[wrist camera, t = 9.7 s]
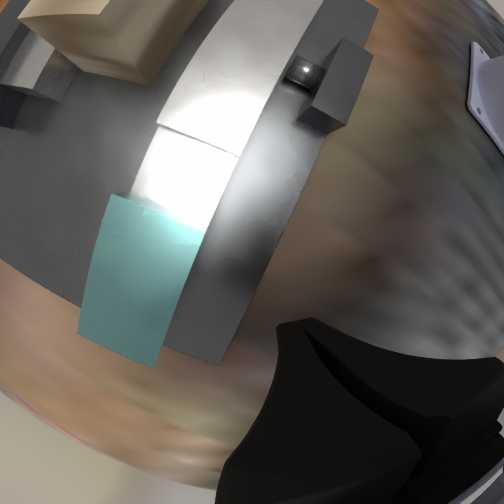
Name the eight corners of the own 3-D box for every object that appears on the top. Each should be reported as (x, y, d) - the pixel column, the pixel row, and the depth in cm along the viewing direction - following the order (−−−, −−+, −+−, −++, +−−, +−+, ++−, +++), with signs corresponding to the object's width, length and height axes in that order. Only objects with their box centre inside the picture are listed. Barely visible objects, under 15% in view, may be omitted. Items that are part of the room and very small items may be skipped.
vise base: (376, 11, 10) (408, -18, 6) (218, 362, 13) (220, 414, 9) (111, -55, 6) (98, -83, 2) (-37, 226, 9) (-74, 237, 6)
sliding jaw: (319, 7, 9) (345, -33, 6) (170, 321, 12) (153, 368, 8) (266, -15, 9) (279, -59, 5) (111, 295, 11) (77, 333, 8)
